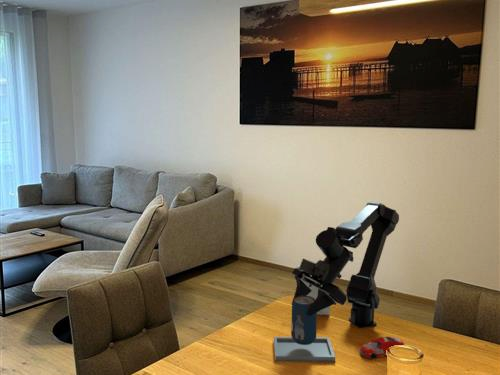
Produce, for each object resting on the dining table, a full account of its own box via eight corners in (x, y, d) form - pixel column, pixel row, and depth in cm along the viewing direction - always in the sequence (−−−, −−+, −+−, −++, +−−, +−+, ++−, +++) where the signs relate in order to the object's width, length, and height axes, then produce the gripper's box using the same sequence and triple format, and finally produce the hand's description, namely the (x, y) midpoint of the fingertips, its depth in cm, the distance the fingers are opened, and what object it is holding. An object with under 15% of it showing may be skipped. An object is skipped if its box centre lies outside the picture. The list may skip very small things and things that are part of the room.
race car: (365, 361, 124) (366, 348, 123) (355, 352, 129) (356, 338, 128) (407, 354, 127) (408, 341, 127) (396, 345, 133) (397, 332, 132)
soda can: (313, 333, 132) (314, 294, 130) (318, 346, 125) (319, 304, 123) (289, 334, 131) (290, 294, 129) (293, 346, 125) (293, 305, 123)
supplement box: (328, 306, 159) (329, 271, 157) (329, 315, 152) (331, 279, 150) (306, 305, 160) (307, 270, 158) (307, 314, 153) (308, 278, 151)
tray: (328, 342, 134) (328, 337, 133) (335, 362, 123) (335, 356, 123) (273, 341, 134) (273, 336, 134) (275, 361, 123) (275, 356, 123)
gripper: (297, 240, 134) (264, 283, 130) (339, 257, 118) (303, 307, 114) (318, 262, 139) (287, 304, 135) (361, 281, 123) (328, 329, 119)
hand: (300, 310), depth 126 cm, fingers closed on soda can, 7 cm apart
